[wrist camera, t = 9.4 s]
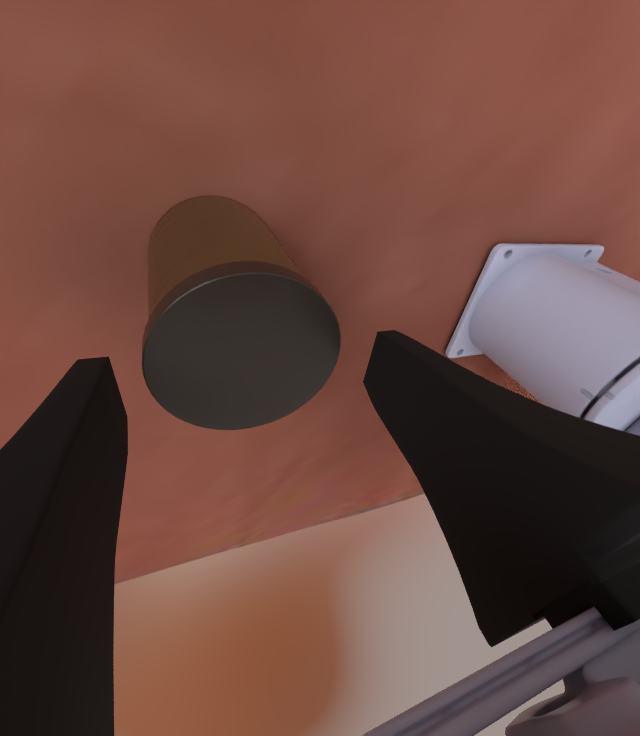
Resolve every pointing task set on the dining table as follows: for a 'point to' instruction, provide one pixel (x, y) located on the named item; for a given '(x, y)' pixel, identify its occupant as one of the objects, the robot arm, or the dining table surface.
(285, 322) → the tea tin
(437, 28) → the dining table surface
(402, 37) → the dining table surface
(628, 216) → the dining table surface
